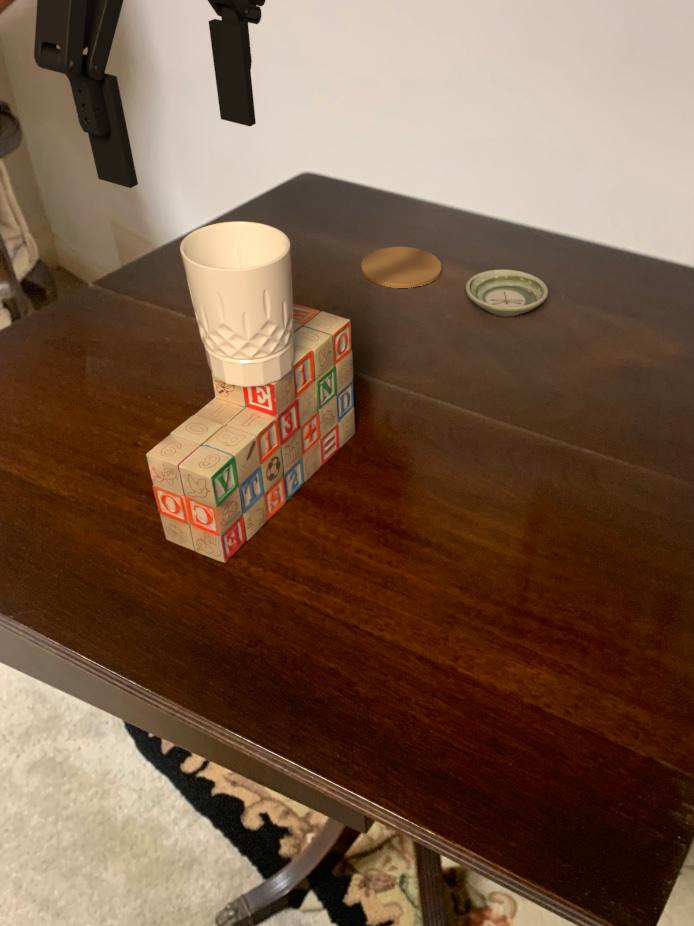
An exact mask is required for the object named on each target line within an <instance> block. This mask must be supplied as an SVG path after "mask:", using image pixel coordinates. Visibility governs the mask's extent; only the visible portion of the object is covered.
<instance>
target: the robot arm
mask: <svg viewBox="0 0 694 926" xmlns="http://www.w3.org/2000/svg"><path fill="white" fill-rule="evenodd" d="M207 2H208V3H209V5H210V7H211V8H212V9H213V11H214V12H215V14H216V15H217V16H218V17H220V18H221V19H218V18H212V19H210V20H208V29H209V35H210V44H211V52H212V59H213V60H212V61H213V69H214V77H215V84H216V93H217V101H218V107H219V116H220V120H223V121H227V122H231V123H235V124H239V125H243V126H246V127H252V126H254V125H256V123H257V121H256V112H255V101H254V92H253V82H252V81H253V80H252V72H251V71H252V61H253V60H252V53H251V52H252V50H251V39H250V29H249V24H254V25H258V24H260V22H261V20H262V8H261V7H263V6H264V5H265V3H266V0H207ZM123 3H124V0H36V13H35V14H36V16H35V29H34V30H35V32H34V47H33V59H34V61H35V64H36V65H37V67H39V68H41V69H43V70H48V71H51V72H56V73H59V74H63V75H65V76H66V77H67V79H68V81H69V85H70V89H71V93H72V94H71V95H72V97H73V102H74V106H75V110H76V114H77V119H78V124H79V126H80V127H81V129H82V131H83V133H87V135H88V139H89V140H88V141H89V144H90V148H91V152H92V156H93V161H94V165H95V171H96V174H97V178H98V180H101V181H105V182H108V183H112V184H115V185H118V186H122V187H124V188H128V189H131V188H134V187H135V186H138V185H139V182H138V177H137V171H136V166H135V162H134V157H133V152H132V151H133V150H132V148H131V146H132V145H131V141H130V137H129V132H128V127H127V121H126V117H125V111H124V106H123V102H122V101H123V100H122V96H121V91H120V86H119V81H118V77H117V75H113V74H110V73H106V69H107V65H108V61H109V57H110V54H111V50H112V46H113V42H114V38H115V35H116V32H117V31H116V30H117V28H118V23H119V20H120V16H121V12H122V7H123ZM58 47H59V48H58ZM85 49H87V50H86V51H87V52H86V54H84V51H85Z"/></svg>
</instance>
